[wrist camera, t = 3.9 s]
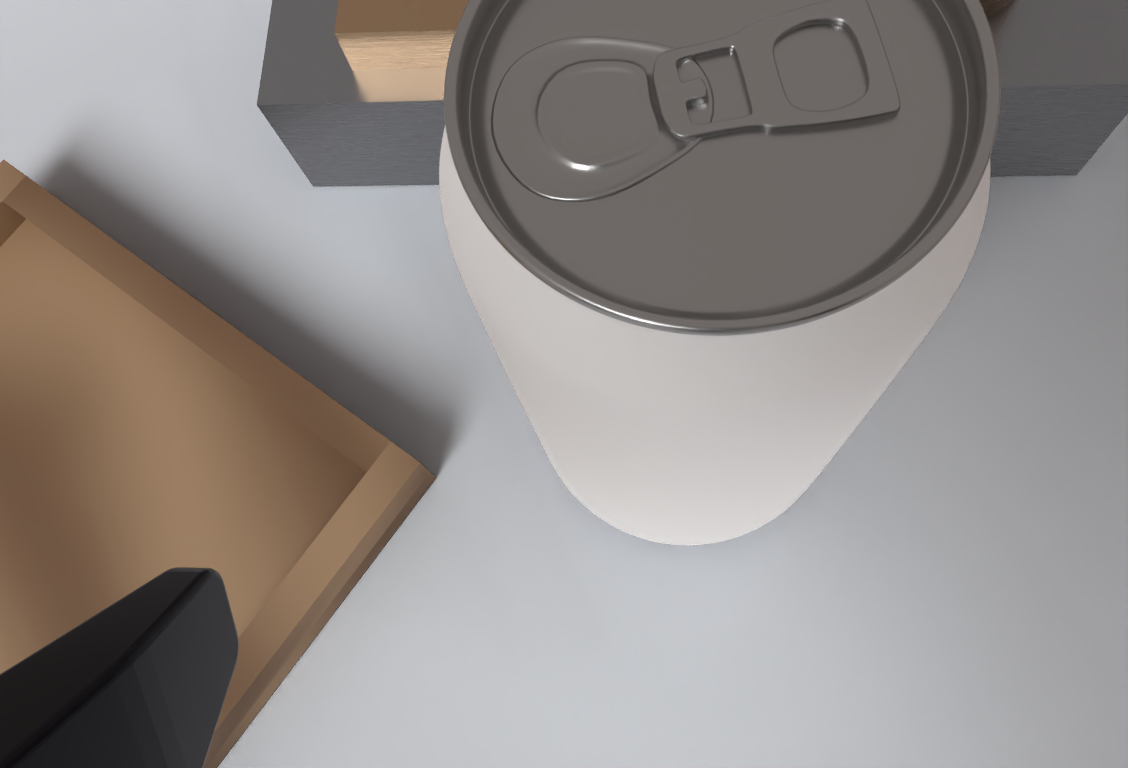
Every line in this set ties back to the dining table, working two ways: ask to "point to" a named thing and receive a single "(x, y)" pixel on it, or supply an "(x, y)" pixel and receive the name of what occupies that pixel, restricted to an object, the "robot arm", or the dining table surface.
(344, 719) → the dining table surface
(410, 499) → the walnut tray
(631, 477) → the can
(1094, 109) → the iron block
